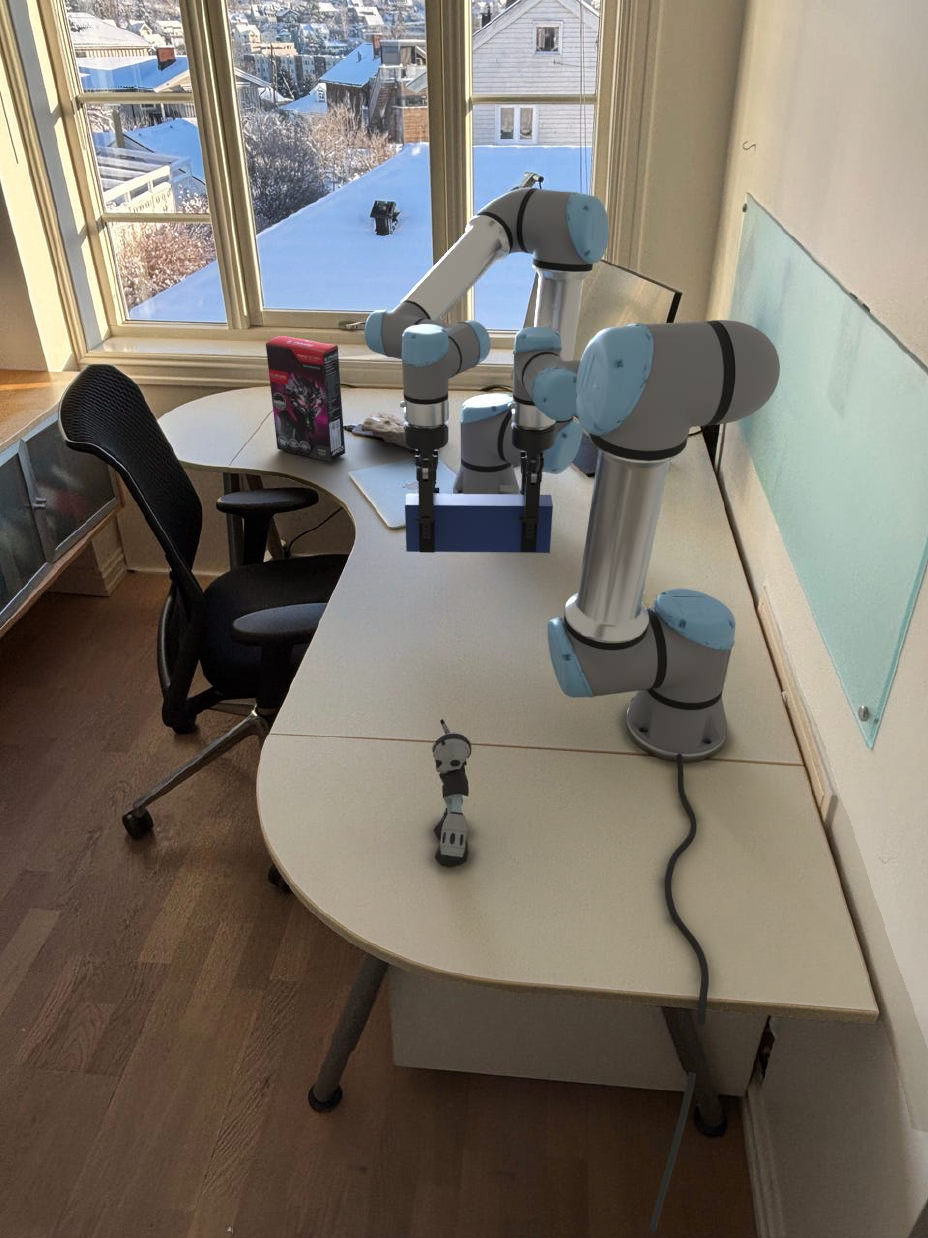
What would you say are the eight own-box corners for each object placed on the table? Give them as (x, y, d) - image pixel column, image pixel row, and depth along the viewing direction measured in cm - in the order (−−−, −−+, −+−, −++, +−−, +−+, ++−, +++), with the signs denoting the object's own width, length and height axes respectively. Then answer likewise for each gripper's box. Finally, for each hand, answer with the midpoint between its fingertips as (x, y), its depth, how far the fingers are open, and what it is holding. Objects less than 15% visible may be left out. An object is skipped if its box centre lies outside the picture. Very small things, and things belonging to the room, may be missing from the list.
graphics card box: (274, 450, 230) (262, 341, 215) (291, 440, 235) (280, 333, 220) (331, 464, 224) (323, 352, 209) (347, 453, 229) (340, 344, 214)
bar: (548, 540, 171) (551, 494, 165) (549, 552, 167) (552, 506, 162) (407, 539, 171) (406, 493, 165) (406, 551, 167) (404, 504, 162)
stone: (345, 437, 230) (349, 413, 227) (367, 428, 243) (371, 405, 241) (423, 461, 226) (429, 437, 224) (441, 451, 239) (446, 428, 237)
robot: (474, 902, 115) (476, 785, 104) (435, 903, 115) (433, 787, 104) (466, 791, 132) (467, 679, 120) (432, 792, 131) (430, 680, 120)
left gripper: (407, 398, 164) (410, 512, 177) (400, 446, 147) (404, 568, 159) (449, 398, 164) (449, 512, 177) (447, 446, 147) (447, 569, 159)
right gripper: (509, 403, 163) (505, 521, 176) (513, 442, 148) (508, 568, 161) (552, 403, 163) (544, 521, 176) (560, 443, 148) (551, 568, 161)
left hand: (428, 538), depth 168 cm, fingers open, 8 cm apart
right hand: (527, 543), depth 168 cm, fingers closed on bar, 4 cm apart
